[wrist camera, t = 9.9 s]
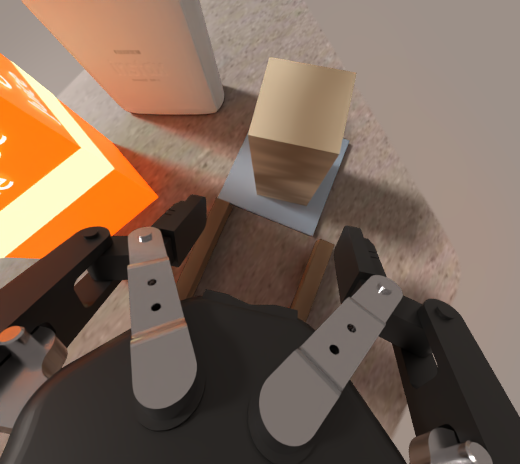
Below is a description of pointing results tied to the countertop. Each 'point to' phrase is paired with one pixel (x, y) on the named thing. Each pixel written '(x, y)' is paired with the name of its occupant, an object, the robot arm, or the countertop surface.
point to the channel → (208, 242)
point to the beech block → (298, 128)
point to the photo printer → (140, 51)
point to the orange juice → (56, 171)
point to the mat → (286, 213)
